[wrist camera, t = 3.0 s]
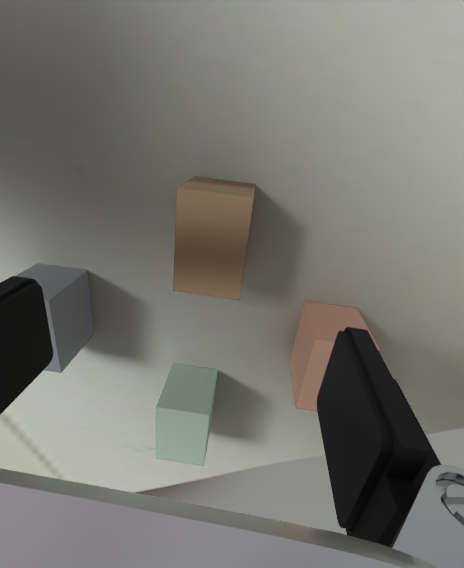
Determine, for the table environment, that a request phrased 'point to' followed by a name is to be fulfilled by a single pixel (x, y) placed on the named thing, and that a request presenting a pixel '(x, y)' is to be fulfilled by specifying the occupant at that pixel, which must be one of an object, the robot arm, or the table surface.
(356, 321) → the terracotta brick
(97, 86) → the table surface
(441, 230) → the table surface
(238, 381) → the table surface
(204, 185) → the walnut brick
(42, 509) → the robot arm
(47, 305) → the grey toy block
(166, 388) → the sage brick
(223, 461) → the table surface
